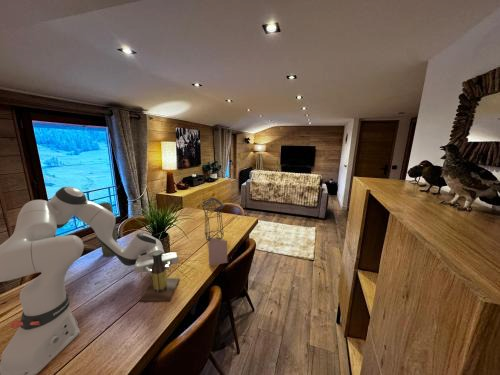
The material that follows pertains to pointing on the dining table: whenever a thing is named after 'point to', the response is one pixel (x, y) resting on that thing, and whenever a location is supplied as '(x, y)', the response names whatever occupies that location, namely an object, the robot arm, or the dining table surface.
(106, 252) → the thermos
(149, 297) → the walnut board
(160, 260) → the sauce bottle
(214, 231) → the geometric lantern
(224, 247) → the greeting card
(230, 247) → the dining table surface
